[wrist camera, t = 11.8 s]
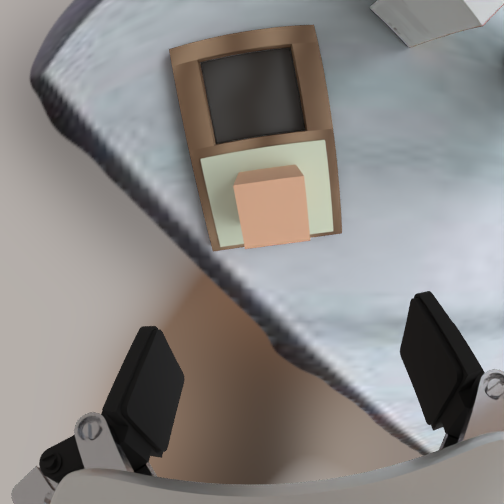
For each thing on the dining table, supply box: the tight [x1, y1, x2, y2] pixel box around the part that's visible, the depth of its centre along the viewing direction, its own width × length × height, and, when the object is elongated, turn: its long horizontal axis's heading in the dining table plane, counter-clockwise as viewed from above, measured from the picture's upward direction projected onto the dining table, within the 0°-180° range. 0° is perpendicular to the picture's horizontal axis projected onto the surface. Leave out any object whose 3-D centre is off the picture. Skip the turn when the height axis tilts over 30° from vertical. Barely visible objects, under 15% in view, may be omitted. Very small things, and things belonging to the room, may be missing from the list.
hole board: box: [169, 25, 342, 251], centre depth 26 cm, size 14×22×2 cm, turn 10°
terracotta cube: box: [233, 165, 310, 249], centre depth 25 cm, size 6×6×6 cm
